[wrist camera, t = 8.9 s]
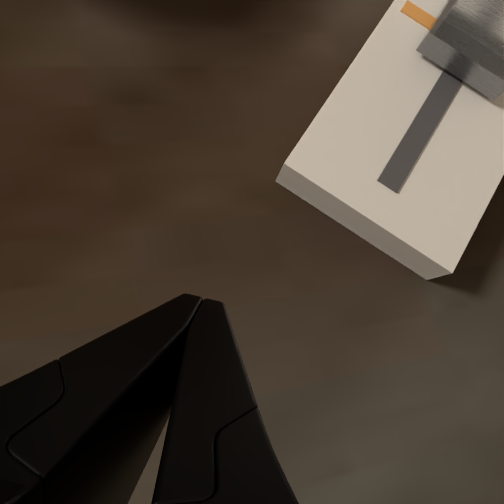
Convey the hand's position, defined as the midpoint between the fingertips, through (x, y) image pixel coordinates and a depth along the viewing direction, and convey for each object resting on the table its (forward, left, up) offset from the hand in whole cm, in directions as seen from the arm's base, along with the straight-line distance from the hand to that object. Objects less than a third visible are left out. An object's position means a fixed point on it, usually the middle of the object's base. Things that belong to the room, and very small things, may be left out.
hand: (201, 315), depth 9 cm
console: (+10, -16, -13) cm, 23 cm away
